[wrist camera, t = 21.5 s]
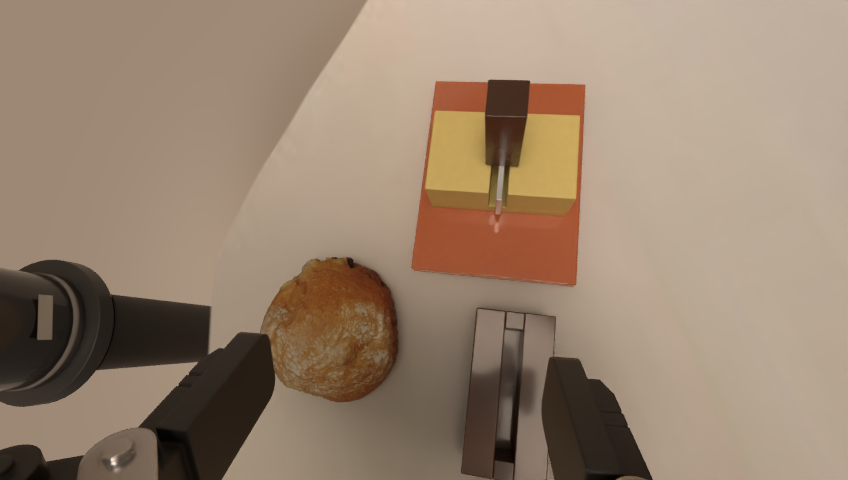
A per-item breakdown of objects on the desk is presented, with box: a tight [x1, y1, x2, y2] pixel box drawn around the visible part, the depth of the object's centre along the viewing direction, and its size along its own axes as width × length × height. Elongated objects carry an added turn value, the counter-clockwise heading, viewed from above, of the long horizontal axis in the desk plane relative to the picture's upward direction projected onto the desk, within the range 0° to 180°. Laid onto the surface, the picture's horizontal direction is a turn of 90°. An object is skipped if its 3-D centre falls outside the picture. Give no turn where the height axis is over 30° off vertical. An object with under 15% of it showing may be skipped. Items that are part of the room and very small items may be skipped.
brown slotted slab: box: [461, 308, 556, 480], centre depth 28 cm, size 10×5×4 cm, turn 173°
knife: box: [485, 80, 530, 215], centre depth 27 cm, size 7×2×10 cm, turn 173°
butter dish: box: [411, 81, 585, 287], centre depth 33 cm, size 16×12×1 cm
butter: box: [425, 111, 580, 216], centre depth 30 cm, size 6×10×4 cm, turn 83°
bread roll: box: [260, 257, 398, 402], centre depth 30 cm, size 10×10×8 cm
